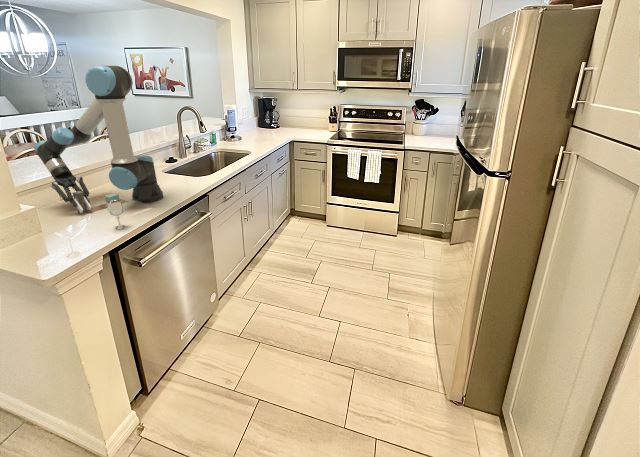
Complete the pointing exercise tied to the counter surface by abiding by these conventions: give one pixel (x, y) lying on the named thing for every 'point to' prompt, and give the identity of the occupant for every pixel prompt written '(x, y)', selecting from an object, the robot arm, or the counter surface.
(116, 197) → the cube
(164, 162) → the counter surface
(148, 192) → the robot arm
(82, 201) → the mallet
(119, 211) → the wineglass
